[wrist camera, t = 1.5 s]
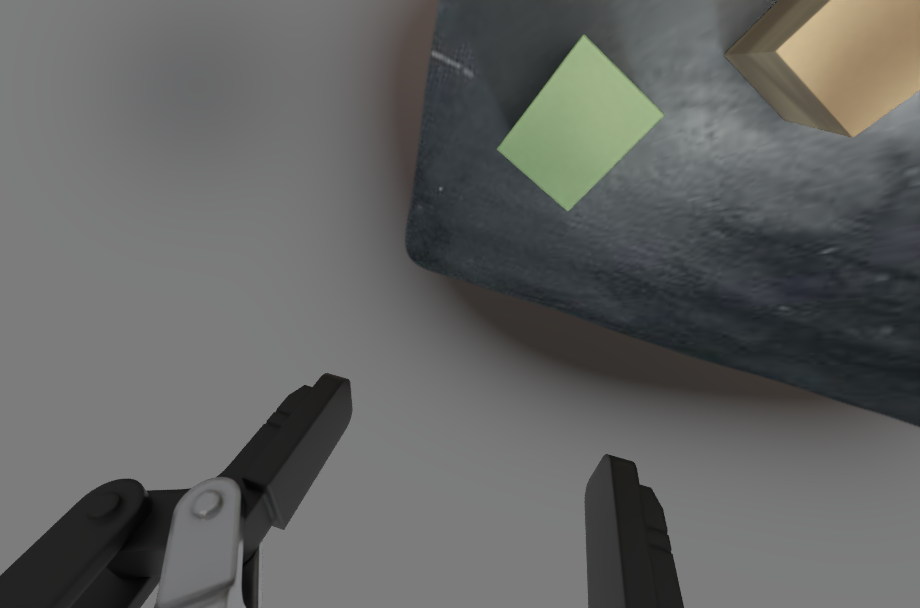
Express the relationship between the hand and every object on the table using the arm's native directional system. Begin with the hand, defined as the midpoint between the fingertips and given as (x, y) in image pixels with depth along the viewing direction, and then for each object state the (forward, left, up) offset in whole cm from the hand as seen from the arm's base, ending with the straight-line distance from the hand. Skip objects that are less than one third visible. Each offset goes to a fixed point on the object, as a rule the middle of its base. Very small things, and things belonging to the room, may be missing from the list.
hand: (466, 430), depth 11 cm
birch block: (+6, +18, -24) cm, 30 cm away
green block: (-2, +6, -24) cm, 24 cm away
